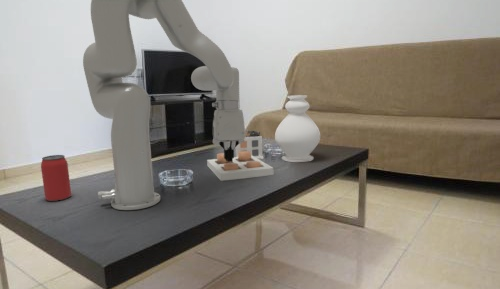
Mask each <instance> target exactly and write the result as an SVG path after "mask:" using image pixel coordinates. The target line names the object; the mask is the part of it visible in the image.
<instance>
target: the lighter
mask: <svg viewBox="0 0 500 289" xmlns="http://www.w3.org/2000/svg"><path fill="white" fill-rule="evenodd" d="M246 133H247V134H249V135H245V137H258V136H262V135H261V131H258V130H251V129H250V130H247V131H246ZM263 138H264V136H262V139H263ZM263 154H264V151H263V148H262V155H263Z"/></svg>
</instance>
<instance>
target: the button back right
mask: <svg viewBox="0 0 500 289" xmlns="http://www.w3.org/2000/svg"><path fill="white" fill-rule="evenodd" d="M238 161H251V151H239V152H238Z"/></svg>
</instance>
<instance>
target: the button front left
mask: <svg viewBox="0 0 500 289" xmlns="http://www.w3.org/2000/svg"><path fill="white" fill-rule="evenodd" d="M229 170H238V164H237V163H227V164H224V171H229Z"/></svg>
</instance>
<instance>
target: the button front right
mask: <svg viewBox="0 0 500 289" xmlns="http://www.w3.org/2000/svg"><path fill="white" fill-rule="evenodd" d="M246 166H247V168H256V167H260V162H258V161H250V162H247V163H246Z"/></svg>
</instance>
